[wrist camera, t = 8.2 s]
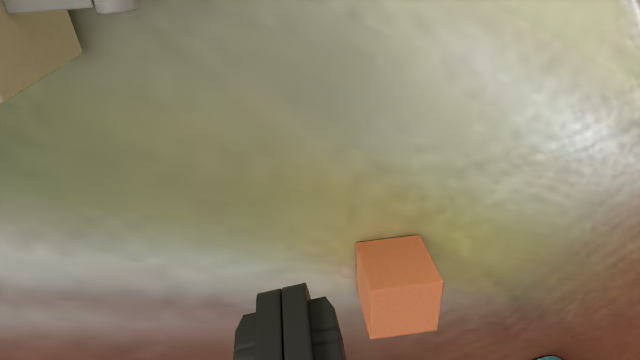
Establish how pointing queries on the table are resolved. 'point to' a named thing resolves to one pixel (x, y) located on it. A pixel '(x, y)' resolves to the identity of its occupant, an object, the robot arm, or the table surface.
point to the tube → (550, 358)
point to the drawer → (41, 38)
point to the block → (398, 286)
